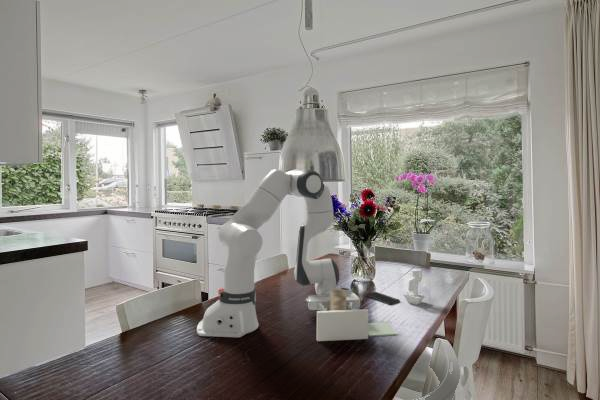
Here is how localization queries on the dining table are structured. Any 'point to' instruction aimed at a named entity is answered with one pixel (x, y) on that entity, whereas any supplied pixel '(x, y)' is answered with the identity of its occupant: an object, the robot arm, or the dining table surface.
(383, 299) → the phone
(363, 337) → the upright white panel
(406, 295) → the figurine
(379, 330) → the pad
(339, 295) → the marked block
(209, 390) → the dining table surface
